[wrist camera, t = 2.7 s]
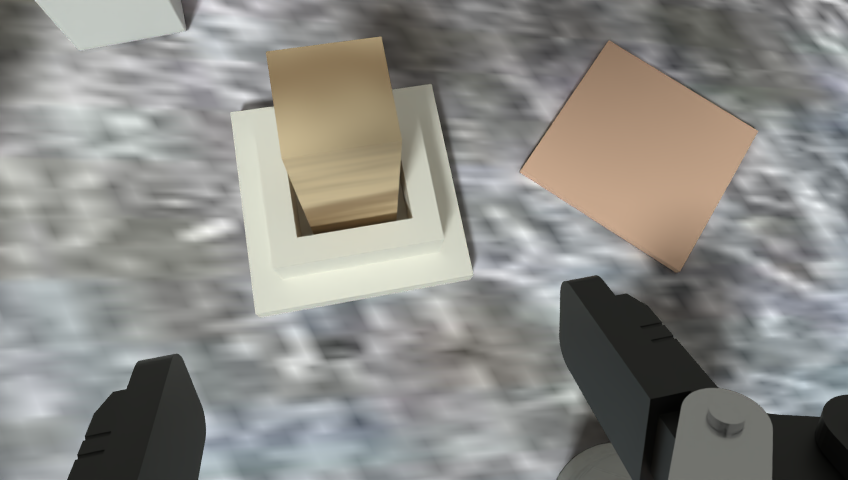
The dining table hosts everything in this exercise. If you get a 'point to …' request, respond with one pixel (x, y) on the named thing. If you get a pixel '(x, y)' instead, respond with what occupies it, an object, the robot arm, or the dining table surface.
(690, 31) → the dining table surface
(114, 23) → the milk carton
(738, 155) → the terracotta mat
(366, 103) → the oak bar
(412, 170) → the socket stand
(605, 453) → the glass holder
